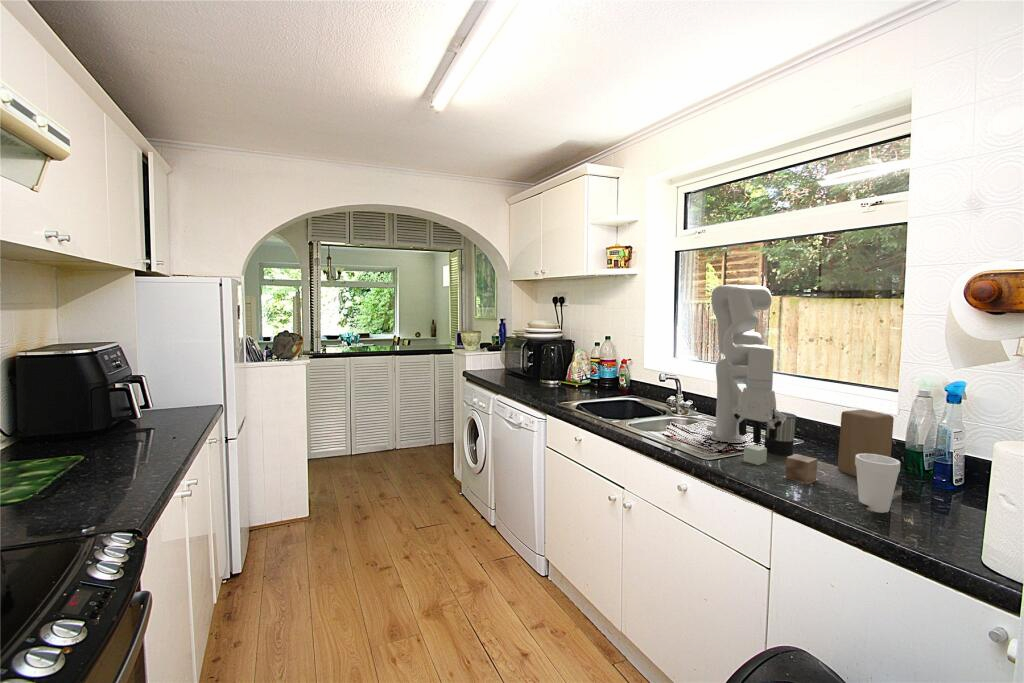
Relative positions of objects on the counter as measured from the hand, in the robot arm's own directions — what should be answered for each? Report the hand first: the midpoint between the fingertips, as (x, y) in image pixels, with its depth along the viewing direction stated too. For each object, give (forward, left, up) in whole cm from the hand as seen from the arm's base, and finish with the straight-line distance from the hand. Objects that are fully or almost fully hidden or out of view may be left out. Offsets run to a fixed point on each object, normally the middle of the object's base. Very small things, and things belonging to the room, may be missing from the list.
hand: (757, 437), depth 165 cm
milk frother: (-3, +14, -10) cm, 18 cm away
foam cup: (+35, -7, -10) cm, 37 cm away
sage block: (-1, +1, -10) cm, 10 cm away
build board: (+13, -1, -9) cm, 16 cm away
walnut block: (+15, -3, -8) cm, 18 cm away
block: (+24, +18, -10) cm, 32 cm away
